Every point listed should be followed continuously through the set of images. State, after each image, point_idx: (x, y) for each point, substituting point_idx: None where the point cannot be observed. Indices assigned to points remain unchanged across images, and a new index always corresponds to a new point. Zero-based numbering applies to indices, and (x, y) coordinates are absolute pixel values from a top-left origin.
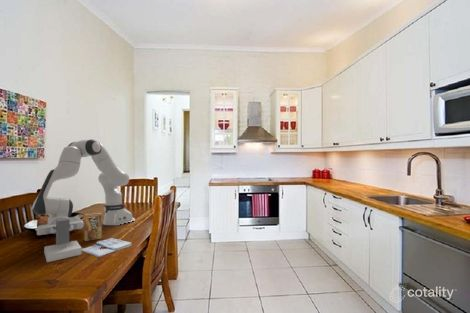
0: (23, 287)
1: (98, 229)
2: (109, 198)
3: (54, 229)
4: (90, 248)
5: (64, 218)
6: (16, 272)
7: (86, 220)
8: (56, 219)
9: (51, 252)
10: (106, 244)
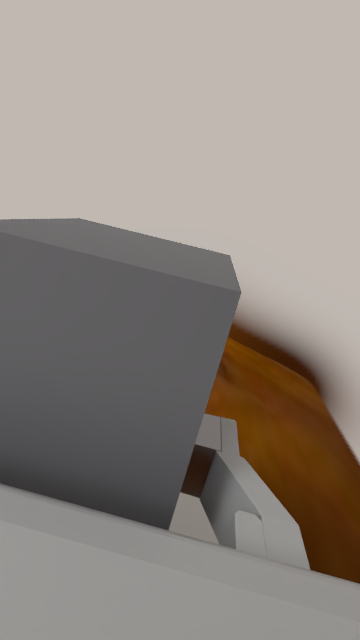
0: (283, 390)
1: None
2: None
3: (218, 439)
4: None
5: (57, 239)
6: (355, 524)
7: None
8: (235, 286)
9: (199, 521)
10: None
